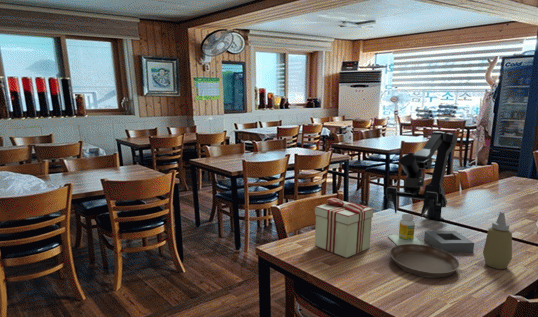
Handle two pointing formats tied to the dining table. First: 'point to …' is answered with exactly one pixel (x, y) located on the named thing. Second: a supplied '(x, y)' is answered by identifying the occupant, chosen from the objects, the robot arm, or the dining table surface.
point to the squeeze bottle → (498, 244)
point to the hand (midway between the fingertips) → (408, 214)
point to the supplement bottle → (406, 228)
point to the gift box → (343, 227)
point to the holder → (449, 241)
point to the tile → (398, 242)
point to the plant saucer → (424, 260)
